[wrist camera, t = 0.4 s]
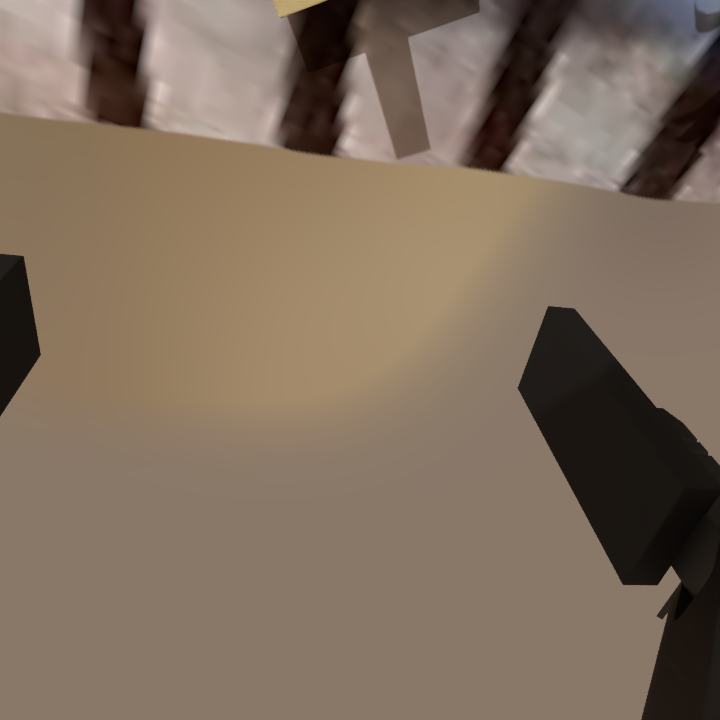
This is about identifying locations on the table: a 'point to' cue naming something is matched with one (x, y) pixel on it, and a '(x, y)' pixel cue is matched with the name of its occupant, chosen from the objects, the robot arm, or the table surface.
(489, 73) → the table surface
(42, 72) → the table surface
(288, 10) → the tan box
